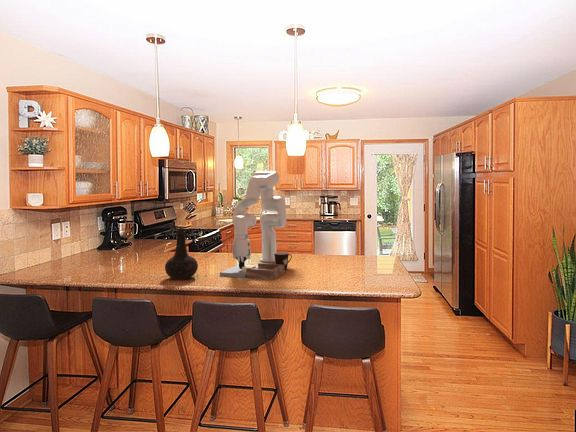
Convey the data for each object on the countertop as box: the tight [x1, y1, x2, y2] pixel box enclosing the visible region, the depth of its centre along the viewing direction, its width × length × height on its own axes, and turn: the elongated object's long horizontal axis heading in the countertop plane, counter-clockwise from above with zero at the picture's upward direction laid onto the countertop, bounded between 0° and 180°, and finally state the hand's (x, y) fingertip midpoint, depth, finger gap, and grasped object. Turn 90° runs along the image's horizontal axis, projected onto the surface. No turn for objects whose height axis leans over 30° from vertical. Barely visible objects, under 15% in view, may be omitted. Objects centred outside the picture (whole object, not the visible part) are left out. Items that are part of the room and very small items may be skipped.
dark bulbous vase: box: [164, 227, 199, 280], centre depth 252 cm, size 18×18×28 cm
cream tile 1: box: [242, 264, 257, 272], centre depth 260 cm, size 6×6×2 cm
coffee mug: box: [274, 251, 293, 272], centre depth 271 cm, size 12×9×10 cm
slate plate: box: [219, 265, 258, 279], centre depth 263 cm, size 18×16×2 cm
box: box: [245, 262, 285, 281], centre depth 257 cm, size 17×16×5 cm
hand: (241, 268), depth 262 cm, fingers closed
